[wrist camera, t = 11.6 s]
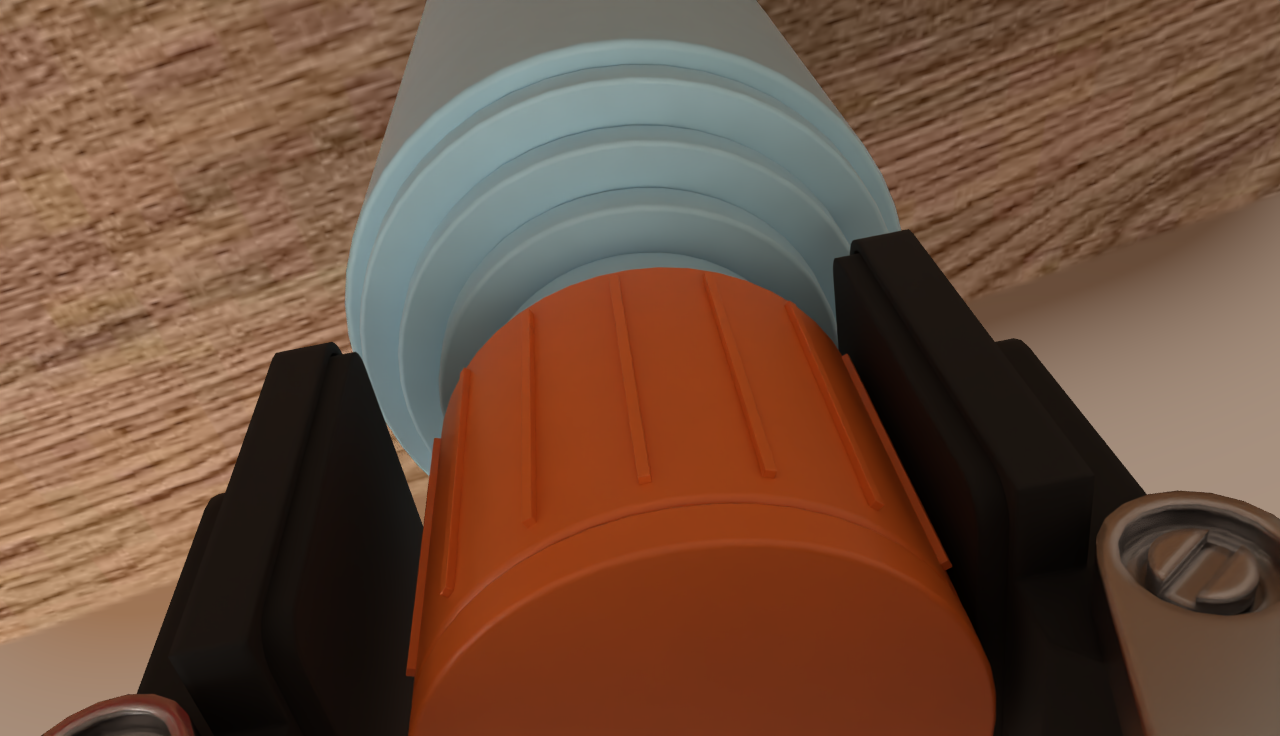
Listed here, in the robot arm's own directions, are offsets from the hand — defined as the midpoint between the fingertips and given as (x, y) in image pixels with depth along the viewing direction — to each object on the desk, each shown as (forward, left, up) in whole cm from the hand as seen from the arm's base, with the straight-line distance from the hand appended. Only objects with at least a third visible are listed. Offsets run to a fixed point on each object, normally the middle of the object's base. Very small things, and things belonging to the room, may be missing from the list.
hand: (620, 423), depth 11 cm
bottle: (0, 0, -15) cm, 15 cm away
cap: (0, 0, 0) cm, 1 cm away
